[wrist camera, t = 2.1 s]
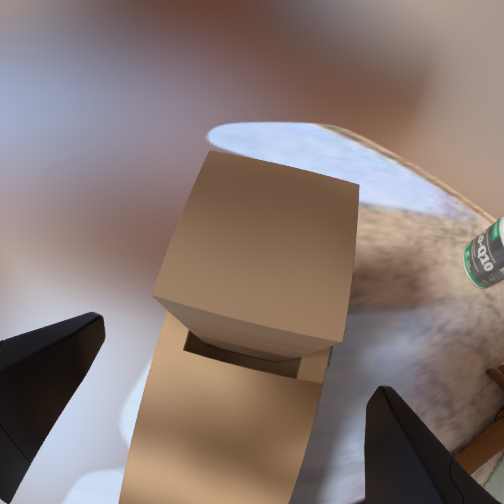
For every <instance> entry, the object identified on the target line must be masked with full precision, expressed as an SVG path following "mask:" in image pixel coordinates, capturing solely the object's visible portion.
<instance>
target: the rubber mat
mask: <svg viewBox="0 0 504 504" xmlns="http://www.w3.org/2000/svg"><path fill="white" fill-rule="evenodd" d="M483 488H485V489H486V490H487V491H488V492H489V493H490V494H491V495H492V496H494V497H495V498H496V499H497V500H498V501H499V502H500V503H502V504H504V454H503V456H502V458H501V460H500V461H499V463H498V465H497V466H496V468H495V469H494V471H493V473H492V474H491V476H490V477H489V479H488V480H487V482H486V483H485V485H484V486H483Z"/></svg>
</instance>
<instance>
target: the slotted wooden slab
mask: <svg viewBox="0 0 504 504" xmlns="http://www.w3.org/2000/svg"><path fill="white" fill-rule="evenodd" d="M332 348H333V346H331V347H328V348H325V349H322V350H320V351H317V352H314V353H310V354H307V355H304V356H301V357H298V358H295V359H291V360H288V361H285V362H281V363H274V362H270V361H265V360H261V359H257V358H252V357H248V356H244V355H240V354H236V353H232V352H229V351H225V350H221V349H217V348H214V347H210V346H207V345H206V344H205V343H204V342H203V341H201V340H200V339H199V338H198V337H197V336H196V335H195V334H193V333H192V332H191V331H190V330H189V329H188V328H187V327H185V326H184V325H183V324H182V323H181V322H180V321H179V320H178V319H177V318H175V317H174V316H173V315H172V314H171V313H170V312H169V311H167V314H166V317H165V320H164V323H163V326H162V330H161V333H160V336H159V340H158V343H157V346H156V350H155V353H154V356H153V360H152V363H151V367H150V370H149V374H148V377H147V381H146V385H145V388H144V392H143V396H142V400H141V404H140V407H139V411H138V415H137V419H136V423H135V428H134V432H133V436H132V440H131V445H130V449H129V454H128V458H127V463H126V468H125V472H124V477H123V482H122V488H121V493H120V498H119V504H289V501H290V498H291V495H292V492H293V489H294V486H295V483H296V480H297V477H298V474H299V471H300V468H301V465H302V461H303V458H304V455H305V451H306V448H307V445H308V441H309V437H310V434H311V430H312V426H313V423H314V419H315V415H316V411H317V407H318V403H319V399H320V395H321V390H322V386H323V381H324V377H325V372H326V368H327V367H329V363H330V358H331V353H332Z"/></svg>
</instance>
